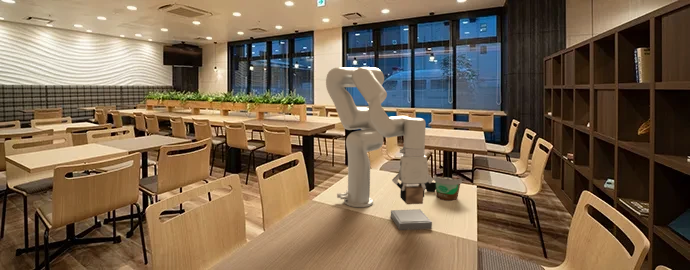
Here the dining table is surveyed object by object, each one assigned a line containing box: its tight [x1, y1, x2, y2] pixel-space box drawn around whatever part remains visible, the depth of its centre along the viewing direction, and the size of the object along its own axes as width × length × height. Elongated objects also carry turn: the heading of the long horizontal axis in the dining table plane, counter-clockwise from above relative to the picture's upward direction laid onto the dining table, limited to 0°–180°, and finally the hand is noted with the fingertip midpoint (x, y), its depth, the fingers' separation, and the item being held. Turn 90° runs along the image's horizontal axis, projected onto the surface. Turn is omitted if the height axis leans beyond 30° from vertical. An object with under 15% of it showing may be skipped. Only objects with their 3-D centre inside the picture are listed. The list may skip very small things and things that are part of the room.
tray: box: [390, 208, 433, 231], centre depth 123 cm, size 12×12×3 cm
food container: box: [433, 174, 463, 202], centre depth 147 cm, size 12×6×10 cm, turn 62°
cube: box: [403, 184, 424, 205], centre depth 121 cm, size 6×6×6 cm
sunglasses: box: [425, 178, 436, 193], centre depth 166 cm, size 14×16×5 cm
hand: (412, 199), depth 122 cm, fingers closed on cube, 6 cm apart
